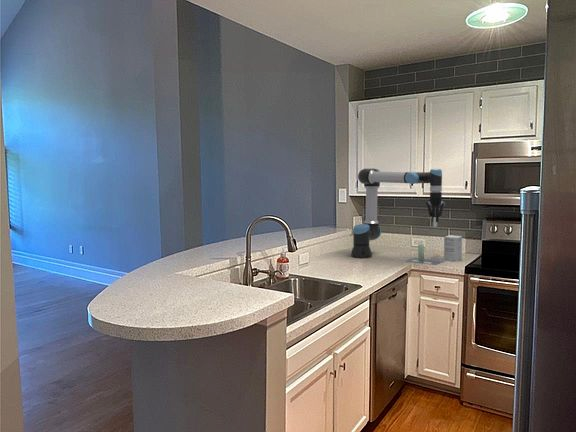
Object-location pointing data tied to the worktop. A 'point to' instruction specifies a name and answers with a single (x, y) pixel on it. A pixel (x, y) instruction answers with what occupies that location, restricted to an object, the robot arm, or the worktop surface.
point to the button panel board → (428, 260)
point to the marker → (420, 252)
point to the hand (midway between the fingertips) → (435, 226)
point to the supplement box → (453, 248)
